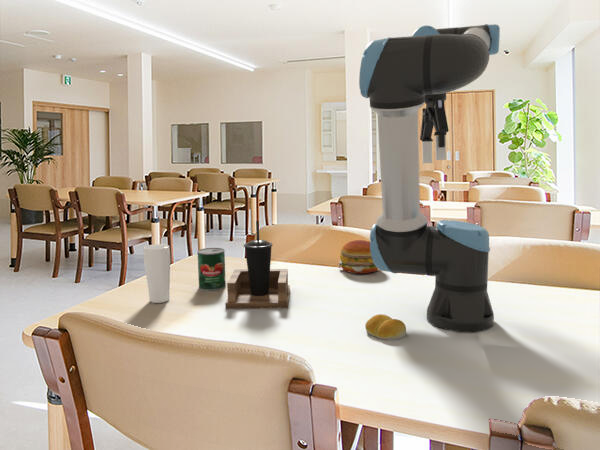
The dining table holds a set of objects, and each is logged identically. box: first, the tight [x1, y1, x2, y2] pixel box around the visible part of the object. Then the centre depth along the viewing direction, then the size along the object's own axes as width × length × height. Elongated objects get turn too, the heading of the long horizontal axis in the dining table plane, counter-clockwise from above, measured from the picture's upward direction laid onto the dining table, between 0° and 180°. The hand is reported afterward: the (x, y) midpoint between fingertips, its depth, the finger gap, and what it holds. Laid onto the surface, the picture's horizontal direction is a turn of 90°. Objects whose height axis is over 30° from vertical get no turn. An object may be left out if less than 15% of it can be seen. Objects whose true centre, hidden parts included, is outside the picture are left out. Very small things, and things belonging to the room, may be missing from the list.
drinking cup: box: [243, 220, 273, 296], centre depth 140 cm, size 8×8×20 cm
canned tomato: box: [196, 247, 227, 292], centre depth 153 cm, size 8×8×11 cm
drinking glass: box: [143, 243, 171, 304], centre depth 140 cm, size 7×7×15 cm
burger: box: [338, 239, 379, 274], centre depth 170 cm, size 13×14×10 cm
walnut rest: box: [224, 268, 291, 310], centre depth 142 cm, size 16×16×6 cm
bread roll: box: [364, 314, 407, 341], centre depth 116 cm, size 8×9×4 cm
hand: (433, 161), depth 152 cm, fingers open, 13 cm apart
